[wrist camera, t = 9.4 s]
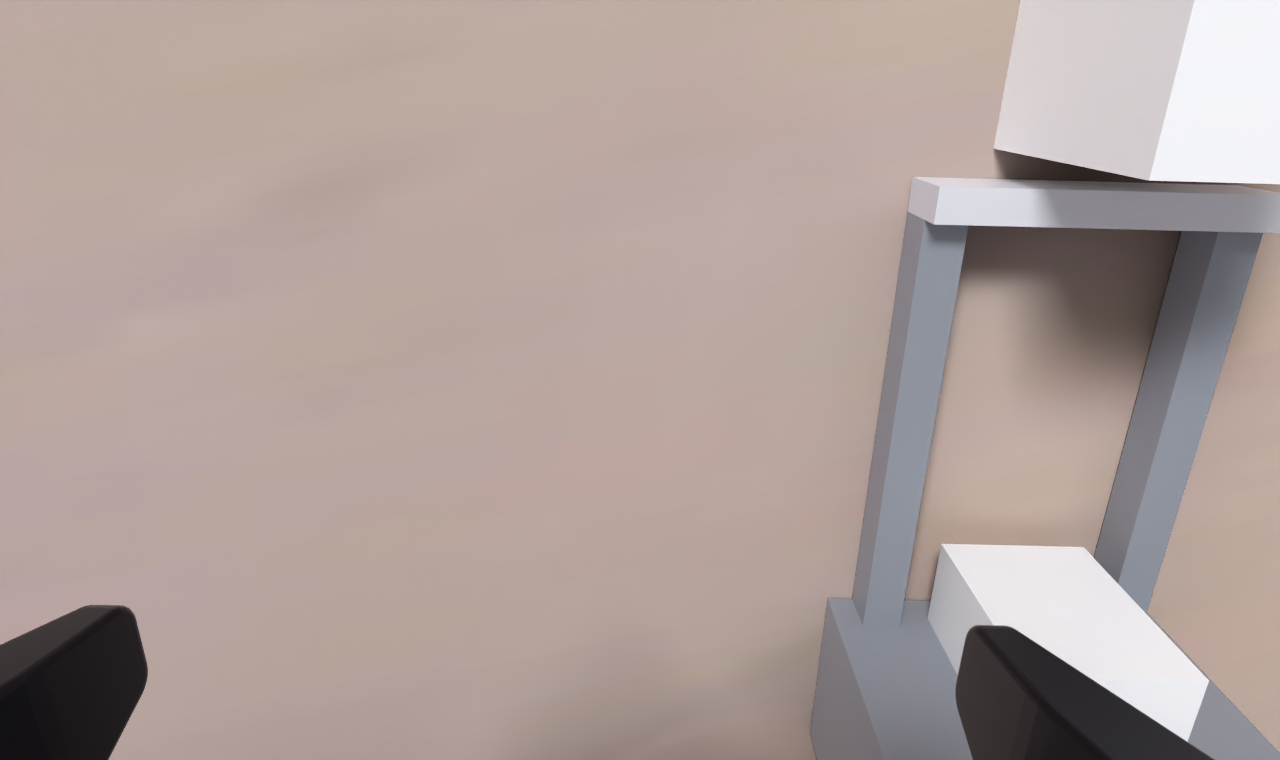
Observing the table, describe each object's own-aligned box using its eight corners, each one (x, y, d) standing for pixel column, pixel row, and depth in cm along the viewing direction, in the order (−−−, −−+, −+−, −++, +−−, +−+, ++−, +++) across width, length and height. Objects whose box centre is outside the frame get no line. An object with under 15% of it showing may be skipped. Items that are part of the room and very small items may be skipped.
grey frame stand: (1100, 739, 24) (1236, 936, 19) (809, 733, 24) (859, 928, 19) (1266, 185, 18) (1538, 232, 13) (882, 176, 18) (987, 218, 13)
